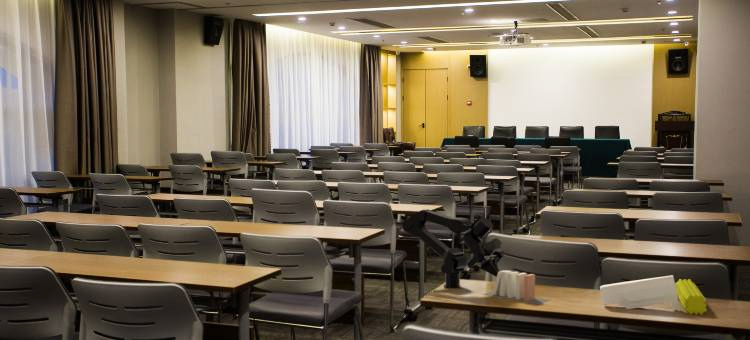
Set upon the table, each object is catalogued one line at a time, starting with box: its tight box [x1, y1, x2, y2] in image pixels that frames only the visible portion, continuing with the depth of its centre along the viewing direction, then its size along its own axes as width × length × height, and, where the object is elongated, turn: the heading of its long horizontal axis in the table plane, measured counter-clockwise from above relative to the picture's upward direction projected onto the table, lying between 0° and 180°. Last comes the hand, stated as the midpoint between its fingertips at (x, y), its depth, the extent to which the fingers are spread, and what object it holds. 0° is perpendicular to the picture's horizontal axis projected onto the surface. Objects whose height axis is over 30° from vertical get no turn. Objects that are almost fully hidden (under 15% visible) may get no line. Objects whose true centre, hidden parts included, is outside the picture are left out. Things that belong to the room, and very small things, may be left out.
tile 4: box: [516, 272, 528, 299], centre depth 283 cm, size 2×5×9 cm, turn 137°
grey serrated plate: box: [482, 291, 551, 305], centre depth 284 cm, size 24×9×1 cm, turn 48°
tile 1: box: [491, 269, 507, 295], centre depth 289 cm, size 2×5×9 cm, turn 137°
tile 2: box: [500, 269, 513, 296], centre depth 287 cm, size 2×5×9 cm, turn 137°
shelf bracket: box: [599, 274, 681, 312], centre depth 269 cm, size 6×25×13 cm, turn 77°
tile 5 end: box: [524, 273, 536, 301], centre depth 280 cm, size 2×5×9 cm, turn 138°
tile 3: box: [508, 271, 520, 298], centre depth 285 cm, size 2×5×9 cm, turn 138°
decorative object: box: [675, 278, 707, 316], centre depth 275 cm, size 7×33×7 cm, turn 165°
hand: (499, 276), depth 289 cm, fingers closed
